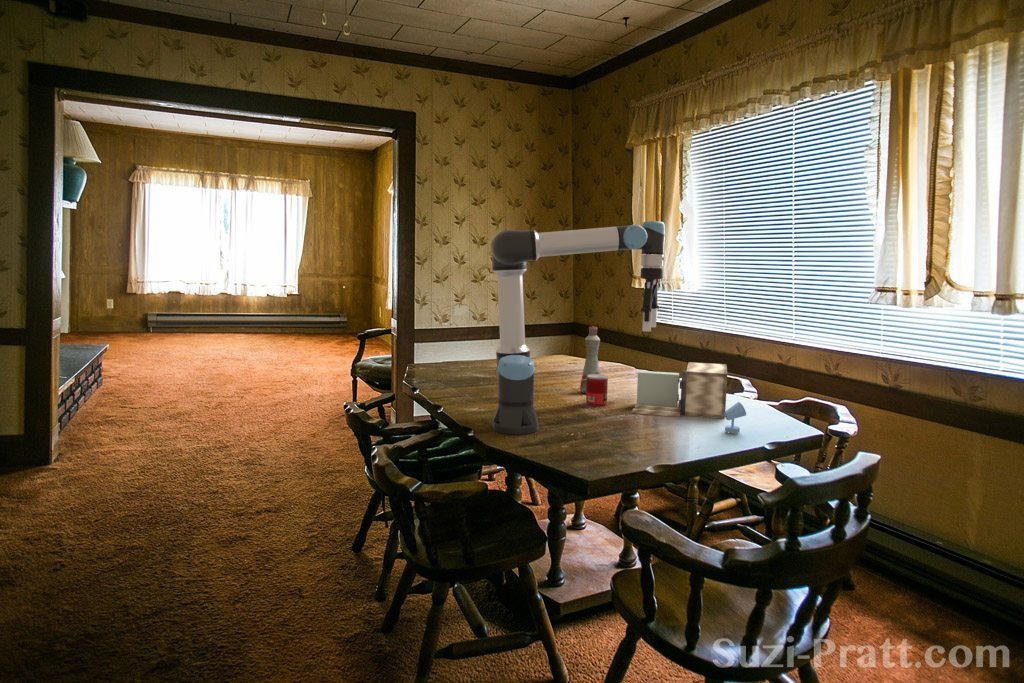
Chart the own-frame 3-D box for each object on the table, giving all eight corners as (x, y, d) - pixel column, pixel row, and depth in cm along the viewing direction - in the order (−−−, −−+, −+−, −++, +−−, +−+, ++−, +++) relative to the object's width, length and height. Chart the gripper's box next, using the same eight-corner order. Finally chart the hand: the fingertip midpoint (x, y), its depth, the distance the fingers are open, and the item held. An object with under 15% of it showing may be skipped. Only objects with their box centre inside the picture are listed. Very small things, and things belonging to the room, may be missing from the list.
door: (636, 405, 252) (637, 372, 250) (637, 403, 256) (639, 370, 254) (677, 409, 248) (679, 374, 246) (678, 406, 251) (680, 373, 250)
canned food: (608, 406, 250) (609, 377, 249) (587, 406, 250) (587, 377, 249) (605, 402, 258) (606, 374, 256) (585, 401, 258) (585, 373, 256)
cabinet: (632, 413, 240) (634, 369, 238) (640, 398, 264) (641, 359, 262) (725, 420, 231) (727, 375, 229) (724, 405, 255) (726, 364, 252)
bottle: (591, 395, 268) (593, 327, 265) (575, 392, 275) (576, 325, 271) (605, 393, 274) (607, 326, 270) (589, 389, 281) (591, 324, 277)
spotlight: (740, 429, 219) (720, 430, 218) (742, 400, 217) (721, 400, 217) (747, 433, 214) (726, 434, 213) (748, 403, 213) (728, 403, 212)
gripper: (658, 268, 212) (655, 333, 215) (667, 267, 236) (664, 326, 239) (635, 267, 215) (632, 332, 218) (646, 266, 238) (643, 325, 241)
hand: (649, 329), depth 228 cm, fingers open, 13 cm apart
